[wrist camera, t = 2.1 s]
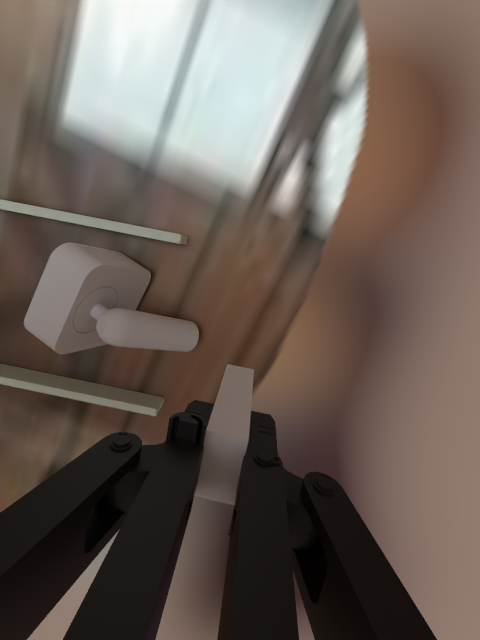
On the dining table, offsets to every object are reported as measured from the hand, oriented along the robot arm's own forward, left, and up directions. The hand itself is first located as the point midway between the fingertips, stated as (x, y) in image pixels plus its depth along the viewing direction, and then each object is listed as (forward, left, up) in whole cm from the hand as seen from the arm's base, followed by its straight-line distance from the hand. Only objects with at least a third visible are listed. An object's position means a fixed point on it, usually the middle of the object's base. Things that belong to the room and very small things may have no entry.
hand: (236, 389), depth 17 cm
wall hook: (-10, 0, -14) cm, 17 cm away
